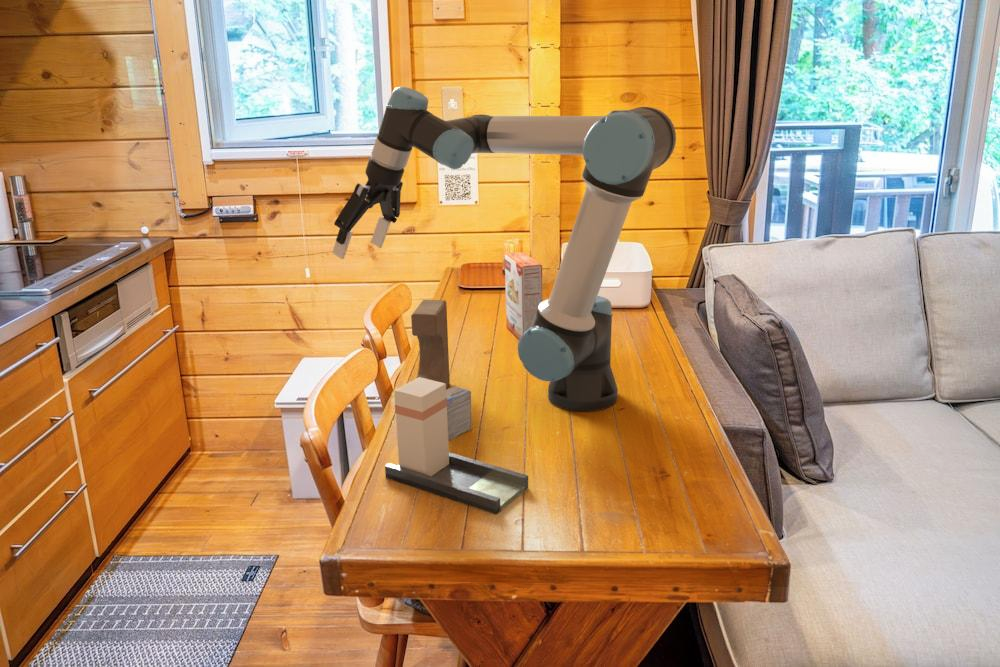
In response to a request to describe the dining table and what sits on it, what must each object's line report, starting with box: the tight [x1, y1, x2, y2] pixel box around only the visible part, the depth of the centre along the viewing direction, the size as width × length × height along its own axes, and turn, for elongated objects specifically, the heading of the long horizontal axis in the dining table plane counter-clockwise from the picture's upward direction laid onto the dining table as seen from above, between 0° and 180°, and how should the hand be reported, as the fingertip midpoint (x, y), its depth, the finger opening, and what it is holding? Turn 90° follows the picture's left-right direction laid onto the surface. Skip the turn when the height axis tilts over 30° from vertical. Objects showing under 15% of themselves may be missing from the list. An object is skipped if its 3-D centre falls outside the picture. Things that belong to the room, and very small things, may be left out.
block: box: [394, 377, 450, 476], centre depth 153 cm, size 6×7×16 cm
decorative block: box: [410, 299, 451, 389], centre depth 188 cm, size 11×6×20 cm, turn 171°
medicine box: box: [446, 385, 473, 442], centre depth 170 cm, size 8×4×9 cm, turn 141°
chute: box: [384, 451, 529, 515], centre depth 152 cm, size 24×10×2 cm, turn 57°
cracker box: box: [504, 251, 543, 340], centre depth 223 cm, size 14×6×21 cm, turn 17°
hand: (357, 250), depth 186 cm, fingers open, 13 cm apart
